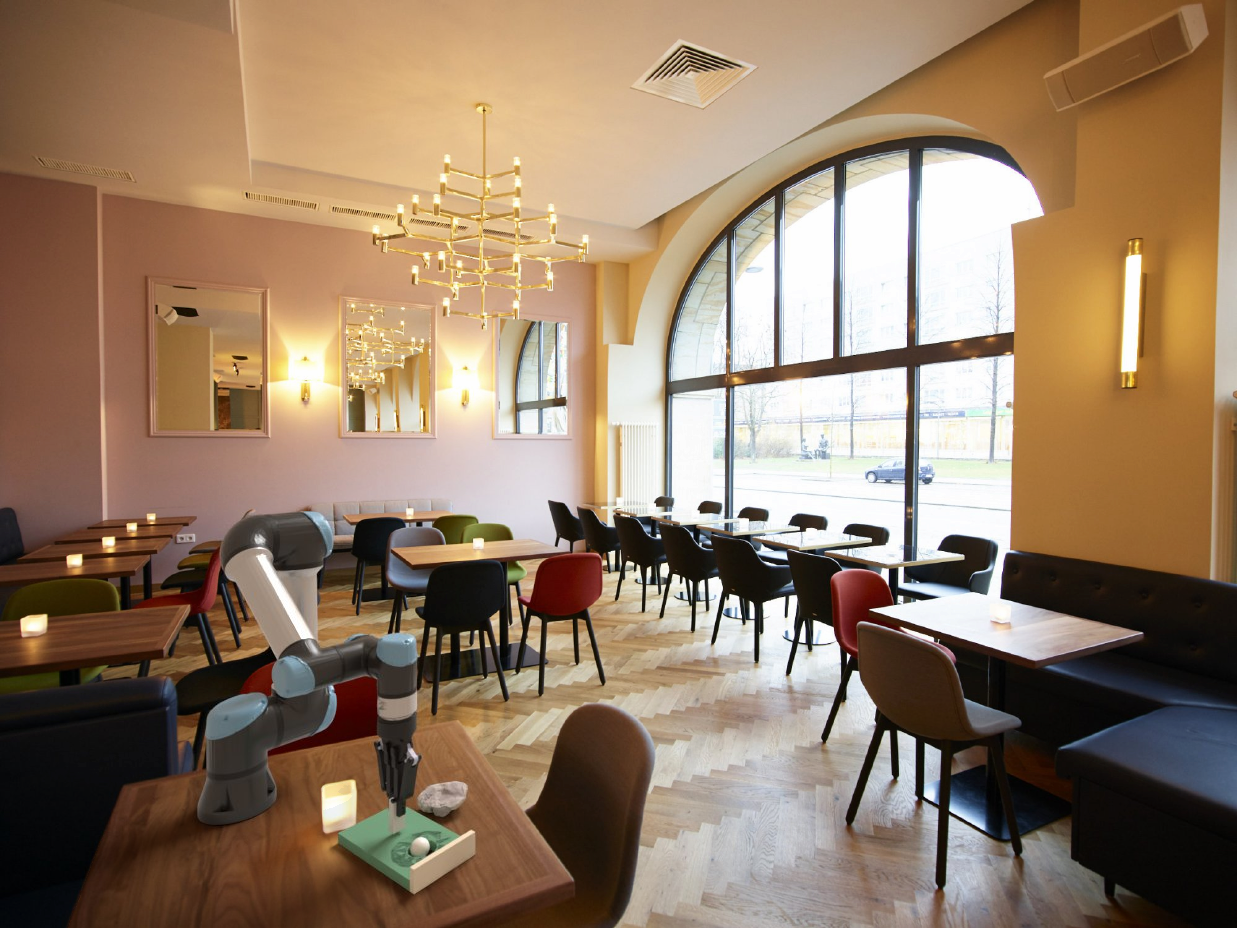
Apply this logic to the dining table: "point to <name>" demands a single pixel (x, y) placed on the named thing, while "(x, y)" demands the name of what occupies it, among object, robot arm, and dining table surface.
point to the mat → (407, 848)
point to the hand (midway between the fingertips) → (397, 829)
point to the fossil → (442, 797)
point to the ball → (419, 847)
